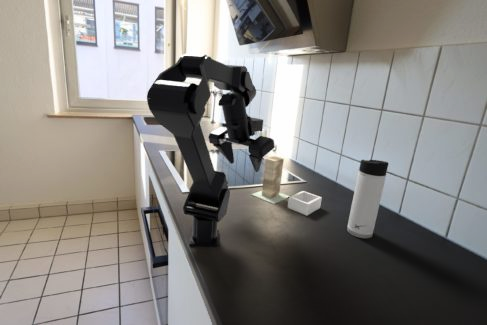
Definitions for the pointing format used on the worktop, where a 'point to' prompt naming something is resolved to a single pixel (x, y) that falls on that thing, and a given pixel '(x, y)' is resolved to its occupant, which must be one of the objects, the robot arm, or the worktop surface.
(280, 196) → the mat
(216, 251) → the worktop surface
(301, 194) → the holder box
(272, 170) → the tall tan tower
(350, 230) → the travel mug
